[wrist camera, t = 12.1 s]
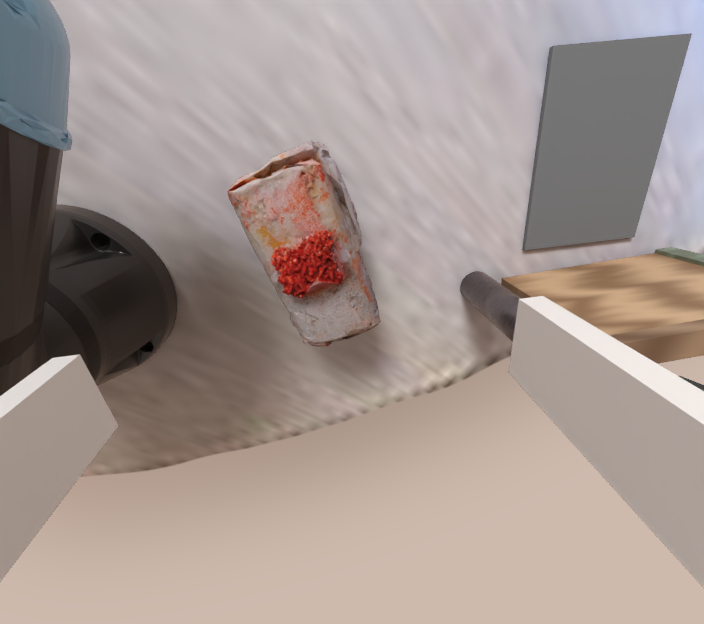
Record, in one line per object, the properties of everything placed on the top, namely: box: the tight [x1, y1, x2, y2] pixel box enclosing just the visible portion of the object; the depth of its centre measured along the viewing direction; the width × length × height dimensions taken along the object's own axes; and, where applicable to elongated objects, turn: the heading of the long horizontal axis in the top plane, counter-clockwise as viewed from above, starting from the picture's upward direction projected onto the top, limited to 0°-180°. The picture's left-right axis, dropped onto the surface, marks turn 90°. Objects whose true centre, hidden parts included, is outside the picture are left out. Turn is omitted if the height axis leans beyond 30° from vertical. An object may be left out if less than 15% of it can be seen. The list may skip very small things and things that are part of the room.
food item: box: [228, 141, 380, 346], centre depth 24 cm, size 14×8×10 cm, turn 22°
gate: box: [501, 247, 704, 363], centre depth 26 cm, size 17×2×13 cm, turn 98°
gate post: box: [460, 271, 522, 341], centre depth 26 cm, size 3×3×14 cm
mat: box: [523, 34, 692, 250], centre depth 28 cm, size 11×16×1 cm
